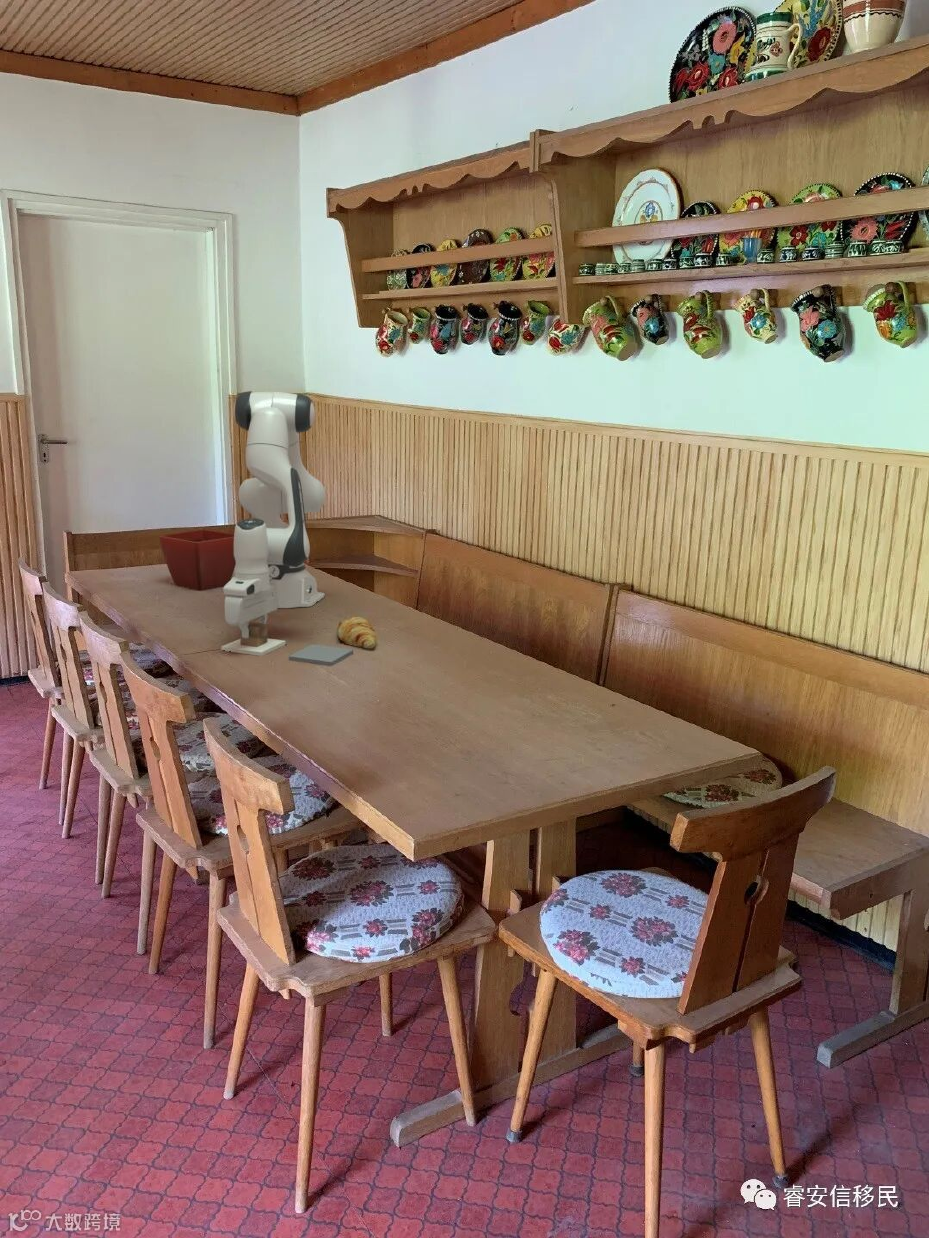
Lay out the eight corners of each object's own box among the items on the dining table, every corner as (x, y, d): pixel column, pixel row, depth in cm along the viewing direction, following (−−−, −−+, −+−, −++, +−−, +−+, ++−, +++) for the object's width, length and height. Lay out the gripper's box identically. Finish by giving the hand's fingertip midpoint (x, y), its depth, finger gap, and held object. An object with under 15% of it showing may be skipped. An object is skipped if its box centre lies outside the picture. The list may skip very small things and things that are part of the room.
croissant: (382, 662, 266) (395, 635, 266) (351, 649, 260) (364, 621, 260) (349, 641, 284) (361, 615, 284) (319, 628, 278) (332, 602, 278)
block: (251, 640, 267) (250, 621, 266) (267, 642, 266) (267, 624, 264) (240, 644, 263) (240, 626, 261) (257, 646, 261) (256, 628, 260)
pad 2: (312, 648, 265) (312, 644, 265) (353, 653, 261) (353, 649, 261) (289, 659, 254) (288, 656, 254) (331, 665, 250) (331, 662, 250)
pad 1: (246, 639, 272) (246, 635, 272) (285, 644, 268) (285, 640, 267) (221, 650, 261) (221, 646, 261) (261, 656, 257) (261, 652, 257)
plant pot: (206, 577, 347) (204, 528, 342) (244, 585, 336) (242, 535, 332) (160, 586, 332) (157, 535, 327) (198, 594, 321) (196, 542, 317)
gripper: (263, 573, 270) (264, 623, 274) (219, 589, 252) (221, 642, 255) (283, 576, 268) (284, 626, 272) (241, 591, 250) (242, 645, 253)
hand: (253, 634), depth 263 cm, fingers open, 5 cm apart
